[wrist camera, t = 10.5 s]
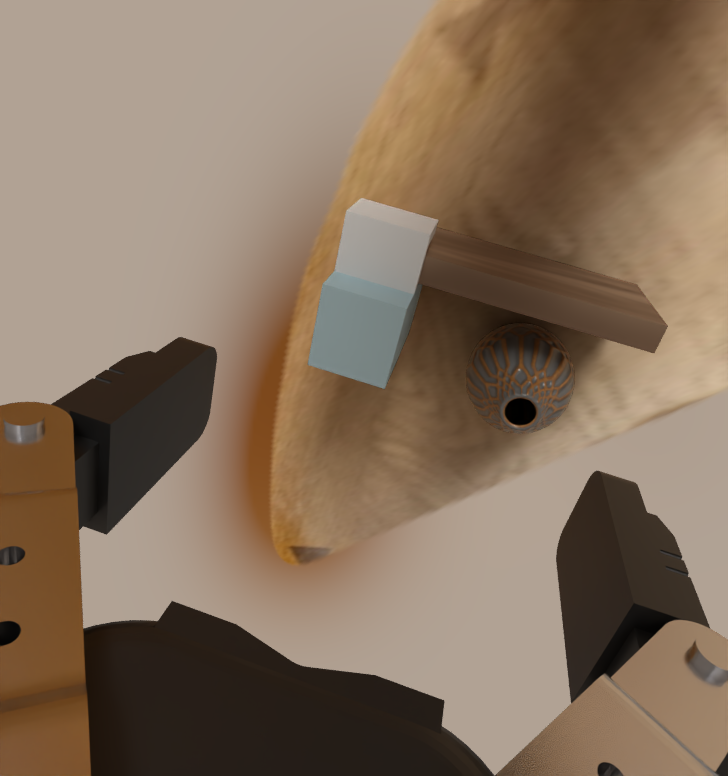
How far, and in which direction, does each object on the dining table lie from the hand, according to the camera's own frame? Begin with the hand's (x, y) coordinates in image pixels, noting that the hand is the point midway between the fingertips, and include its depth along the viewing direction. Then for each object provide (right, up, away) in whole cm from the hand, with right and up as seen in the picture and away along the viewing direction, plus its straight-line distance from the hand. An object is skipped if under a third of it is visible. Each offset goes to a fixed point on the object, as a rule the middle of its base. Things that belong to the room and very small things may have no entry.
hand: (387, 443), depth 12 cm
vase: (+11, +3, +30) cm, 32 cm away
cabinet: (+1, +9, +26) cm, 27 cm away
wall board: (+9, +10, +27) cm, 30 cm away
